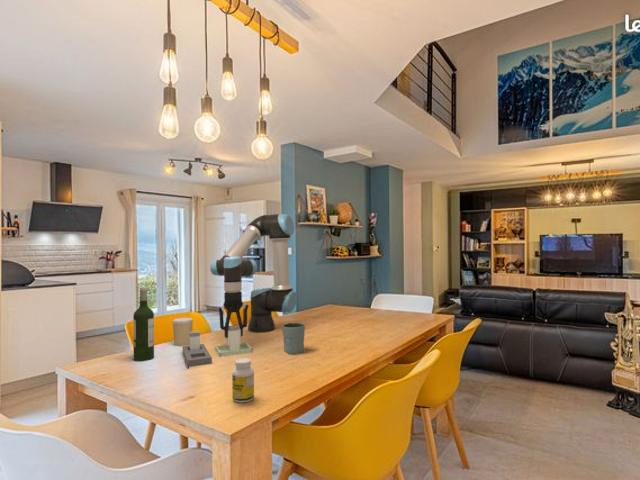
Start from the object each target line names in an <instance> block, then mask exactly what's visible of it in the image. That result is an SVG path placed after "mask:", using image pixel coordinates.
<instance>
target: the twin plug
mask: <svg viewBox="0 0 640 480" xmlns="http://www.w3.org/2000/svg"><path fill="white" fill-rule="evenodd" d="M200 344H201V332H200V330H192V331H191V332H189V345H188V346H189V350H197V349H200Z"/></svg>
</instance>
